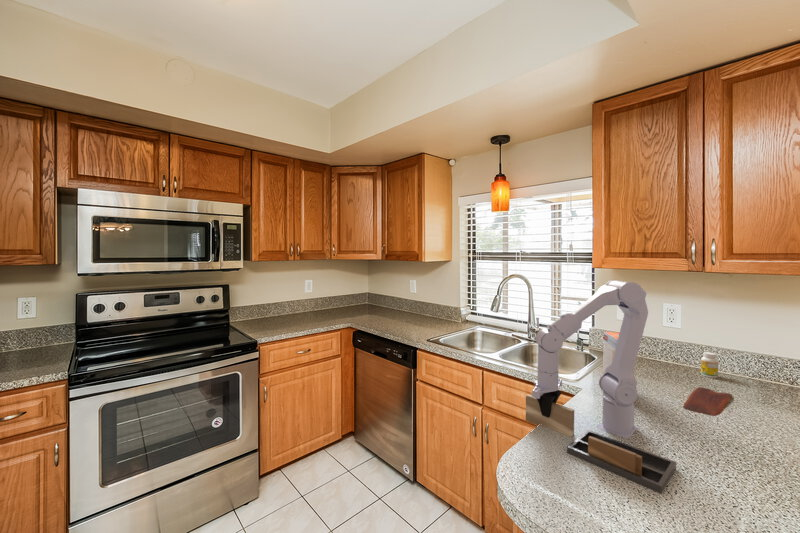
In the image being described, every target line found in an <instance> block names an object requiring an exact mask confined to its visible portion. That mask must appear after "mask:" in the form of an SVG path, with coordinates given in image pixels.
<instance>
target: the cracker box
mask: <svg viewBox="0 0 800 533" xmlns="http://www.w3.org/2000/svg"><path fill="white" fill-rule="evenodd" d="M619 333H620V331H603V348H602V349H603V350H602V351H603V352H602V353H603V354H602V355H603V356H602V357H603V358H602V359H603V360H602V375H603V374H604V372H605V369H606V368H607V367H608V366H610V365H611V364H612V360H613V357H614V353H615V349H616V345H617V341H618V337H619ZM635 366H636V365H635ZM635 366H634V370H633V373H634V374H635Z"/></svg>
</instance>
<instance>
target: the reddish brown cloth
mask: <svg viewBox="0 0 800 533" xmlns="http://www.w3.org/2000/svg"><path fill="white" fill-rule="evenodd" d="M732 398H733V395H732V394H731V393H728V392H717V391H714V390H712V389H710V388H705V387H701V386H698V387H696V388H695V389H693V391H692V392H691V393H690V394H689V396H688V397H687V399H686V401H685V402H684V404H683V409H685V410H688V411H691V412H694V413H697V414H702V415H706V416H712V417H717V416H718V415H720V414H721V413H722V412H723V411H724V409H725V407H726V406H727V405H728V403H729V401H730V400H732Z"/></svg>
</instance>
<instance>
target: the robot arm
mask: <svg viewBox="0 0 800 533" xmlns="http://www.w3.org/2000/svg"><path fill="white" fill-rule="evenodd" d="M646 297H647V292H646V290H644V288H643V287H642V286H641V285H640V284H639V283H637V282H633V281H624V280H619V279H611V280H609V281H607V282H606V283H605V284H604V285H601V286H600V287H599V288H598V290H597V291H596V292H595V293H594V294H593V295H591V296H590V297H589V298H588V299H587V300H586V301H584V302H583V303H582V304H581V305H580V306H579V307H578V308H577V309H576V310H574V311H573V312H565V313H561V314H560V315H558V317H559V318H557V319H556V320H555V321H554V322H553V323H551V324H547V325H546V328H542V329H540V330H538V332H537V333H536V335H535V337H534V340H535V343H536V344H537V377H536V378H537V379H536V380H535V381H533V385H534V386H535V387H534V389H532V390H531V394H532V397H534V398H537V400H538V403H539V406H540V410H541V414H542V416H545V417H548V418H549V417H550V413H551V406H552V403H556V404H557V402H558V400H559V398H560V396H561V395H562V391H560V387H562V386H563V379H561V378H559V363H560V362H559V359H560V358H559V351H560V350H561V349H562V347H563V345H564V344H563V343H564V342H565V341H567V339H569V338H570V337H572V335H574V334H575V333H576V332H578V331H579V330H580V329H582V324H583V322H584V321H586V320H587V319H588V318H589V317H591V316H592V315H594V314H595V313H597V312H598V311H600V310H601V309H603V308H605V307H606V306H618V308H619V309H620V310H621V311H622V313H623V318H622V323H621V326H620V331H619V337H618V341H617V345H616V349H615V353H614V357H613V360H612V364H611V365H610V366H608V367H607V368H606V369H605V372H604V374H603V373H602V375H601V376H600V378H599V380H598V385H599V388H600V389H601V391H602V419H601V420H602V422H601V423H600V424H599V425H598V426H597V427H596V428H598V429H599V430H602V431H604V432H608V433H610V434H614V435H615V436H619V437H621V438H624V439H629V438H630V437H631V436H632V435H633V433H635V431H636V430H637V429H638V428H639V427H638V426H636V425H635V405H634V403H635V402H636V401H637V399H638V391H637V386H638V381H637V378H636V376H635V372H634V373H633V370H634V366H636V361H637V358H638V354H639V350H640V346H641V341H642V339H643V335H644V331H645V328H646V324H647V319H648V316H649V310H648V309H649V308H648V305H647V301H646ZM634 371H635V370H634Z"/></svg>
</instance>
